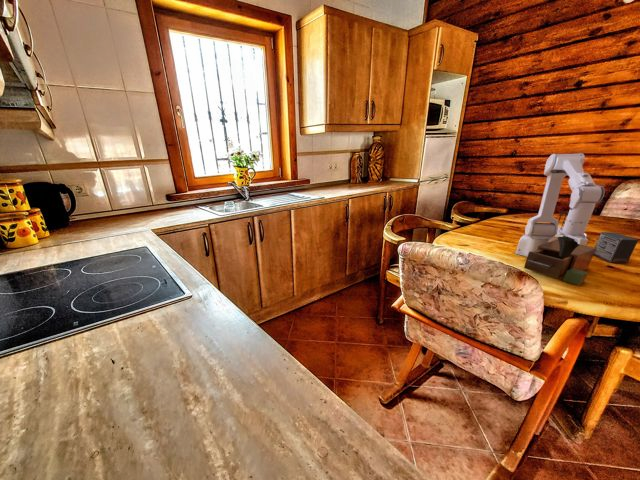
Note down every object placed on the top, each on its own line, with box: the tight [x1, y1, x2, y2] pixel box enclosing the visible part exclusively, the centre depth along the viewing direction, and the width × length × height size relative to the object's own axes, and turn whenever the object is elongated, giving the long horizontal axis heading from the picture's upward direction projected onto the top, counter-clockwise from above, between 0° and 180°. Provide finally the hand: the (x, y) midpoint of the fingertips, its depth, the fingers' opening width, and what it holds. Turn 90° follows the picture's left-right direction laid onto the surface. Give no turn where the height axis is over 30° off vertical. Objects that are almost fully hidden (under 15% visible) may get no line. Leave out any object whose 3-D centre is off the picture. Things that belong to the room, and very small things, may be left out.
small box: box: [593, 231, 639, 264], centre depth 119 cm, size 11×6×10 cm, turn 168°
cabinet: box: [537, 240, 596, 276], centre depth 114 cm, size 15×13×9 cm
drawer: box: [523, 249, 574, 280], centre depth 110 cm, size 18×11×7 cm, turn 115°
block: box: [562, 268, 589, 286], centre depth 103 cm, size 4×4×4 cm
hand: (563, 256), depth 103 cm, fingers closed
